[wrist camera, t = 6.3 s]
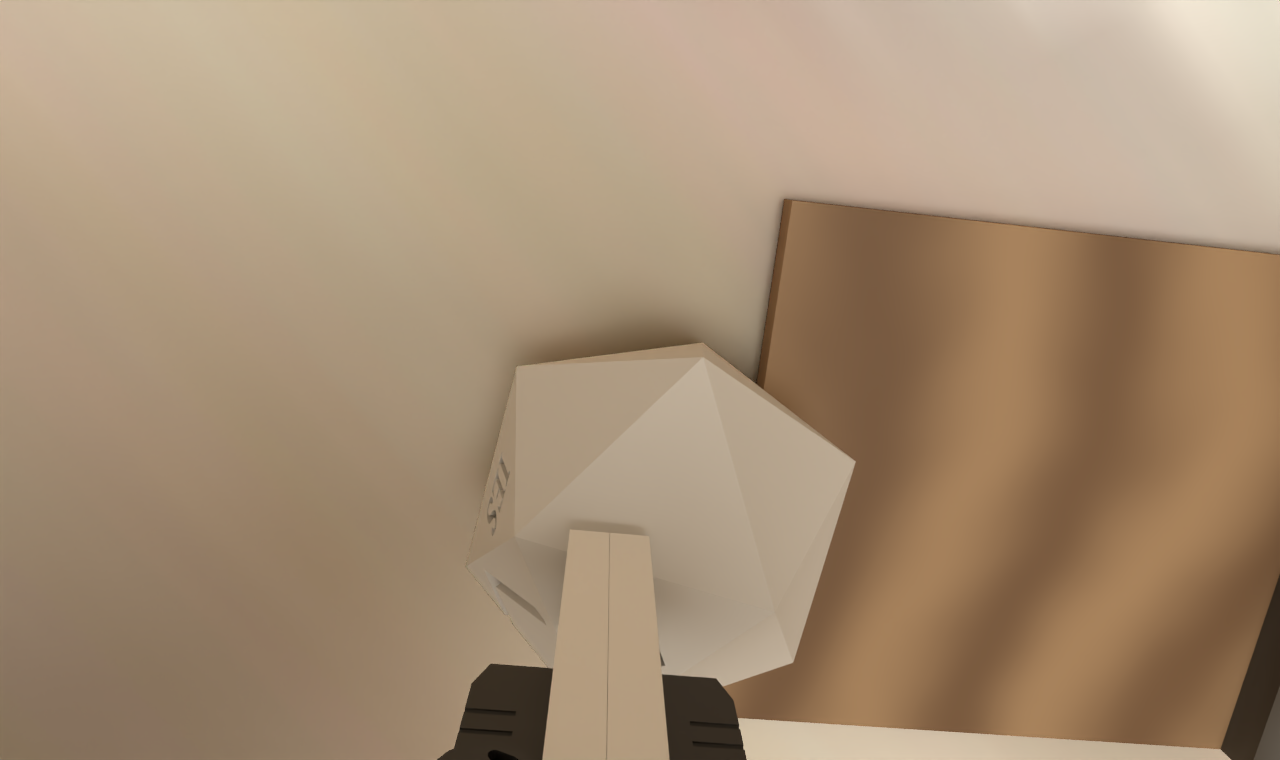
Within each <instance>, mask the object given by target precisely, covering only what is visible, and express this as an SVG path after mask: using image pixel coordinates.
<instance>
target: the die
mask: <svg viewBox="0 0 1280 760" xmlns="http://www.w3.org/2000/svg"><path fill="white" fill-rule="evenodd" d="M855 463H856V461H854V460H853V459H852V458H851V457H849V456H848V455H847V454H845V453H844V452H843V451H842V450H840V449H839V448H838V447H836V446H835V445H834V444H833V443H831V442H830V441H829V440H827V439H826V438H825V437H824V436H822V435H821V434H820V433H818V432H817V431H816V430H815V429H813V428H812V427H811V426H809V425H808V424H807V423H806V422H804V421H803V420H802V419H800V418H799V417H798V416H797V415H795V414H794V413H793V412H791V411H790V410H789V409H788V408H786V407H785V406H784V405H782V404H781V403H780V402H779V401H777V400H776V399H775V398H773V397H772V396H771V395H770V394H768V393H767V392H766V391H764V390H763V389H762V388H761V387H759V386H758V385H757V384H755V383H754V382H753V381H752V380H750V379H749V378H748V377H746V376H745V375H744V374H743V373H741V372H740V371H739V370H737V369H736V368H735V367H734V366H732V365H731V364H730V363H728V362H727V361H726V360H725V359H723V358H722V357H721V356H719V355H718V354H717V353H716V352H714V351H713V350H712V349H710V348H709V347H708V346H707V345H705V344H704V343H703V342H702V343H694V344H687V345H679V346H671V347H663V348H655V349H647V350H640V351H632V352H624V353H616V354H608V355H600V356H593V357H585V358H577V359H569V360H561V361H553V362H546V363H538V364H530V365H522V366H516V370H515V374H514V378H513V382H512V386H511V390H510V394H509V398H508V402H507V406H506V409H505V413H504V417H503V421H502V425H501V429H500V433H499V437H498V441H497V445H496V449H495V453H494V456H493V460H492V464H491V468H490V472H489V476H488V480H487V484H486V488H485V492H484V496H483V500H482V504H481V507H480V511H479V515H478V519H477V523H476V527H475V531H474V535H473V539H472V543H471V547H470V551H469V554H468V558H467V562H466V566H465V567H466V568H467V569H468V570H469V572H470V573H471V574H472V575H473V576H474V578H475V579H476V580H477V581H478V583H479V584H480V585H481V586H482V587H483V589H484V590H485V591H486V592H487V594H488V595H489V596H490V597H491V598H492V600H493V601H494V602H495V603H496V605H497V606H498V607H499V608H500V609H501V611H502V612H503V613H504V614H505V615H508V616H509V617H510V620H511V622H512V624H513V625H514V627H515V628H516V629H517V630H518V631H519V633H520V634H521V635H522V636H523V638H524V639H525V640H526V641H527V642H528V644H529V645H530V646H531V647H532V649H533V650H534V651H535V652H536V653H537V655H538V656H539V657H540V658H541V660H542V661H543V662H544V663H545V664H546V666H547V667H548V668H553V666H554V658H555V650H556V641H557V633H558V625H559V616H560V608H561V600H562V591H563V583H564V574H565V566H566V558H567V549H568V541H569V533H570V529H571V530H583V531H595V532H606V533H619V534H631V535H642V536H649V539H650V550H651V561H652V572H653V583H654V594H655V605H656V616H657V627H658V638H659V649H660V660H661V671H662V674H665V675H679V676H692V677H706V678H716V679H717V680H718V681H719V683H720V684H721V685H722V686H726V685H729V684H732V683H735V682H738V681H740V680H743V679H746V678H749V677H752V676H755V675H758V674H761V673H764V672H767V671H770V670H773V669H776V668H779V667H782V666H785V665H788V664H791V663H793V662H794V659H795V655H796V652H797V649H798V646H799V643H800V639H801V636H802V633H803V630H804V627H805V623H806V620H807V617H808V614H809V610H810V607H811V604H812V601H813V598H814V594H815V591H816V588H817V585H818V582H819V578H820V575H821V572H822V569H823V565H824V562H825V559H826V556H827V553H828V549H829V546H830V543H831V540H832V537H833V533H834V530H835V527H836V524H837V521H838V517H839V514H840V511H841V508H842V504H843V501H844V498H845V495H846V492H847V488H848V485H849V482H850V479H851V476H852V472H853V469H854V466H855ZM609 536H610V534H609Z"/></svg>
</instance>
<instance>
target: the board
mask: <svg viewBox="0 0 1280 760" xmlns="http://www.w3.org/2000/svg"><path fill="white" fill-rule="evenodd" d="M757 385H758V386H759V387H761V388H762V389H763V390H764V391H766V392H767V393H768V394H770V395H771V396H772V397H773V398H775V399H776V400H777V401H779V402H780V403H781V404H782V405H784V406H785V407H786V408H788V409H789V410H790V411H791V412H793V413H794V414H795V415H797V416H798V417H799V418H800V419H802V420H803V421H804V422H806V423H807V424H808V425H809V426H811V427H812V428H813V429H815V430H816V431H817V432H818V433H820V434H821V435H822V436H824V437H825V438H826V439H827V440H829V441H830V442H831V443H833V444H834V445H835V446H836V447H838V448H839V449H840V450H842V451H843V452H844V453H845V454H847V455H848V456H849V457H851V458H852V459H853V460H854V461H856V463H855V466H854V469H853V472H852V476H851V479H850V482H849V485H848V488H847V492H846V495H845V498H844V501H843V504H842V508H841V511H840V514H839V517H838V521H837V524H836V527H835V530H834V533H833V537H832V540H831V543H830V546H829V549H828V553H827V556H826V559H825V562H824V565H823V569H822V572H821V575H820V578H819V582H818V585H817V588H816V591H815V594H814V598H813V601H812V604H811V607H810V610H809V614H808V617H807V620H806V623H805V627H804V630H803V633H802V636H801V639H800V643H799V646H798V649H797V652H796V655H795V659H794V662H793V663H791V664H788V665H785V666H782V667H779V668H776V669H773V670H770V671H767V672H764V673H761V674H758V675H755V676H752V677H749V678H746V679H743V680H740V681H738V682H735V683H732V684H729V685H726V686H723V688H724V689H725V690H726V691H727V693H728V694H729V695H730V696H731V698H732V699H733V700H734V704H735V709H736V713H737V718H749V719H764V720H779V721H795V722H810V723H826V724H841V725H856V726H872V727H887V728H903V729H918V730H934V731H949V732H964V733H980V734H995V735H1011V736H1026V737H1041V738H1057V739H1072V740H1088V741H1103V742H1119V743H1134V744H1149V745H1165V746H1180V747H1196V748H1211V749H1221V750H1222V751H1223V752H1224V753H1225V754H1226V755H1227V756H1228V757H1229V758H1230V759H1231V760H1280V255H1279V254H1270V253H1261V252H1252V251H1243V250H1234V249H1225V248H1216V247H1207V246H1198V245H1189V244H1180V243H1172V242H1163V241H1154V240H1145V239H1136V238H1127V237H1118V236H1109V235H1100V234H1091V233H1082V232H1074V231H1065V230H1056V229H1047V228H1038V227H1029V226H1020V225H1011V224H1002V223H993V222H984V221H975V220H967V219H958V218H949V217H940V216H931V215H922V214H913V213H904V212H895V211H886V210H877V209H868V208H860V207H851V206H842V205H833V204H824V203H815V202H806V201H797V200H788V199H784V205H783V212H782V219H781V225H780V232H779V238H778V245H777V252H776V258H775V265H774V272H773V278H772V285H771V291H770V298H769V305H768V311H767V318H766V324H765V331H764V338H763V344H762V351H761V358H760V364H759V371H758V377H757Z"/></svg>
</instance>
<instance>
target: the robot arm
mask: <svg viewBox="0 0 1280 760" xmlns="http://www.w3.org/2000/svg"><path fill="white" fill-rule="evenodd" d="M609 534H610V536H609ZM437 760H747V759H746V755H745V750H743V741H742V736H741V732H740V729H739V723H738V718H737V713H736V709H735V704H734V700H733V699H732V698H731V696H730V695H729V694H728V693H727V691H726V690H725V689H724V688H723V686H722V685H721V684H720V683H719V681H718V680H717V679H716V678H706V677H692V676H679V675H665V674H662V671H661V660H660V649H659V638H658V627H657V616H656V605H655V594H654V583H653V572H652V561H651V550H650V539H649V536H642V535H631V534H619V533H606V532H595V531H583V530H571V529H570V533H569V541H568V549H567V558H566V566H565V574H564V583H563V591H562V600H561V608H560V616H559V625H558V633H557V641H556V650H555V658H554V666H553V668H540V667H526V666H513V665H499V664H490V665H489V666H488V667H487V668H486V669H485V670H484V671H483V672H482V673H481V674H480V676H479V677H478V678H477V679H476V680H475V681H474V682H473V683H472V684H471V688H470V692H469V696H468V699H467V703H466V707H465V712H464V714H463V718H462V721H461V725H460V731H459V733H458V736H457V740H456V744H455V747H454V749H452V750H449V751H448V752H446V753H445V754H444V755H443V756H441V757H440V758H439V759H437Z"/></svg>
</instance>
